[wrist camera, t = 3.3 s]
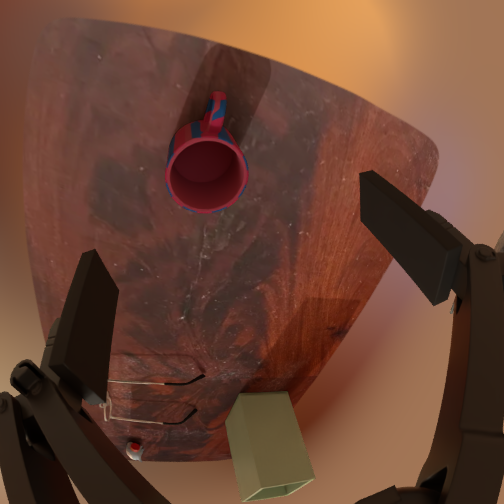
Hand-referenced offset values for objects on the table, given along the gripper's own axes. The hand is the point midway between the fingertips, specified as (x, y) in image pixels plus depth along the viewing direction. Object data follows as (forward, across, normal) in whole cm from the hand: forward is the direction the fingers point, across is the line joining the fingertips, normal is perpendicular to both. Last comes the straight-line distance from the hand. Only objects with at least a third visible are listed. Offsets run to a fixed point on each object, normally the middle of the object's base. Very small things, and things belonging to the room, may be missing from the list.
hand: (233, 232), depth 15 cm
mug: (+18, 0, 0) cm, 18 cm away
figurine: (+18, -39, -64) cm, 77 cm away
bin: (+18, -6, -55) cm, 58 cm away
